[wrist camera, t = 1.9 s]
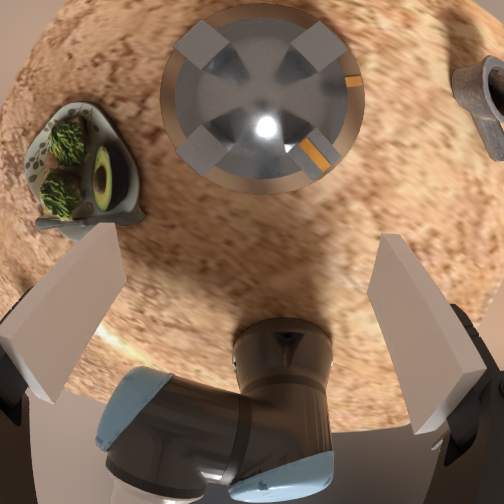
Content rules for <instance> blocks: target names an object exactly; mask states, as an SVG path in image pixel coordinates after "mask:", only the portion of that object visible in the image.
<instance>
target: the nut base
mask: <svg viewBox="0 0 504 504" xmlns="http://www.w3.org/2000/svg"><path fill="white" fill-rule="evenodd" d="M256 17H266V18H275V19H280V20H285V21H288V22H291V23H294V24H297V25H299V26H301V27H303V28H305V29H307V30H308V29H309V28H310V27H312V26H313V25H314V24H316V23H317V22H318V21H320V20H318V19H317V18H315V17H313V16H311V15H309V14H307V13H305V12H303V11H300V10H297V9H294V8H291V7H287V6H282V5H277V4H265V3H261V4H247V5H241V6H236V7H232V8H229V9H226V10H223V11H221V12H218V13H216V14H214V15H212V16H210V17H208V18H207V19H205V20H204V21H205V22H206V23H207V24H209V25H210V26H211V27H212V28H214V29H217V28H219V27H221V26H223V25H225V24H227V23H230V22H233V21H237V20H241V19H246V18H256ZM322 23H323V22H322ZM323 24H324V23H323ZM324 25H325V26H326V27H327V28H328V29H329V30H330V31H331V32H332V33H333V34H334V35H335V36H336V37H337V38H338V39H339V40H340V41H341V42H342V43H343V44H344V46H345V47H346V48H347V49H348V50H347V51H346V52H344V53H343V54H342V55H340V56H339V57H338V58H336V59H337V60H338V62H339V64H340V66H341V69H342V71H343V74H344V77H345V80H346V85H347V91H348V106H347V114H346V117H345V121H344V125H343V127H342V129H341V131H340V134H339V135H338V137H337V139H336V140H335V142H334V144H333V145H332V146H333V147H334V148H335V149H336V150H337V151H338V153H339V154H340V155H341V156H342V158H340V159H339V160H338V161H337V162H336V163H334V164H333V165H332V166H331V167H330V168H328V169H327V170H326V171H325V172H323V173H322V174H321V175H320V176H319V177H317V178H316V179H315V180H314V181H312V180H311V179H310V178H309V177H308V176H307V175H306V174H305V172H304V171H303V170H301V171H299V172H296V173H294V174H291V175H287V176H284V177H279V178H273V179H252V178H245V177H240V176H236V175H233V174H230V173H227V172H225V171H223V170H221V169H219V168H217V167H215V166H214V167H213V168H212V169H211V170H210V171H209V172H208V173H207V174H206V175H205V176H204V177H205V178H206V179H208V180H209V181H211V182H213V183H215V184H217V185H219V186H221V187H224V188H227V189H230V190H233V191H237V192H241V193H246V194H255V195H273V194H280V193H286V192H290V191H294V190H298V189H300V188H303V187H305V186H308V185H310V184H312V183H313V182H315V181H317V180H319V179H321V178H322V177H323V176H325V175H326V174H328V173H329V172H330V171H332V170H333V169H334V168H335V167H336V166H337V165H338V164H339V163H340V162H341V161H342V159H343V158H344V157H345V156H346V155H347V153H348V152H349V150H350V149H351V147H352V145H353V144H354V142H355V140H356V138H357V135H358V133H359V131H360V127H361V124H362V120H363V115H364V108H365V92H364V85H363V80H362V76H361V73H360V70H359V67H358V65H357V63H356V60H355V58H354V56H353V55H352V53H351V51H350V50H349V48H348V47H347V45H346V44H345V43H344V42H343V40H342V39H341V38H340V37H339V36H338V35H337V34H336V33H335V32H334V31H333V30H332V29H331V28H329V27H328V26H327V25H326V24H324ZM185 59H186V57H185V56H184V55H183V54H181V53H180V52H179V51H178V50H177V49H175V50H174V51H173V53H172V55H171V57H170V59H169V61H168V63H167V65H166V68H165V71H164V74H163V78H162V83H161V90H160V106H161V114H162V119H163V123H164V126H165V129H166V132H167V134H168V137H169V139H170V140H171V142H172V144H173V146H174V148H175V149H176V150H177V149H178V148H179V147H180V146H181V145H182V144H183V142H184V141H185V140H186V137H185V135H184V133H183V131H182V129H181V127H180V124H179V121H178V118H177V114H176V109H175V87H176V82H177V77H178V74H179V71H180V69H181V66H182V64H183V62H184V60H185Z"/></svg>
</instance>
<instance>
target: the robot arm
mask: <svg viewBox="0 0 504 504" xmlns="http://www.w3.org/2000/svg"><path fill="white" fill-rule="evenodd" d="M126 282H127V279H126V274H125V270H124V266H123V261H122V257H121V252H120V247H119V242H118V237H117V232H116V226H115V223H98V224H97V225H96V226H95V227H94V228H93V229H92V230H91V231H89V232H88V233H87V234H86V235H85V236H84V237H83V238H82V239H81V240H80V241H79V242H78V243H76V244H75V245H74V246H73V247H72V248H71V249H70V250H69V251H68V252H67V253H66V254H65V255H64V256H63V257H62V258H61V259H60V260H59V261H58V262H57V263H56V264H55V265H54V266H53V267H52V268H51V269H50V270H49V271H48V272H47V273H46V274H45V275H44V276H43V277H42V278H41V279H40V280H39V282H38V283H37V284H36V285H34V286H33V287H31V288H30V289H28V290H27V291H26V292H25V293H24V294H23V295H22V297H21V298H20V299H19V302H16V303H15V304H14V306H13V307H12V310H11V309H10V310H9V311H8V313H7V314H6V315H5V316H4V317H3V318H2V320H1V321H0V504H38V502H37V497H36V491H35V484H34V477H33V470H32V459H31V447H30V428H29V426H30V425H29V398H28V396H27V395H26V394H25V391H26V389H27V387H28V386H29V387H30V389H31V390H32V391H33V392H34V394H35V395H36V396H37V397H38V398H40V399H42V400H45V401H47V402H50V403H52V404H55V402H56V400H57V398H58V396H59V395H60V393H61V391H62V389H63V387H64V385H65V383H66V381H67V379H68V378H69V376H70V374H71V372H72V370H73V369H74V367H75V365H76V363H77V361H78V360H79V358H80V356H81V354H82V353H83V351H84V349H85V347H86V346H87V344H88V342H89V341H90V339H91V337H92V336H93V334H94V332H95V331H96V329H97V327H98V326H99V324H100V322H101V321H102V319H103V318H104V316H105V314H106V313H107V311H108V310H109V308H110V306H111V305H112V303H113V302H114V300H115V299H116V297H117V295H118V294H119V292H120V291H121V289H122V288H123V286H124V285H125V283H126ZM367 295H368V297H369V300H370V302H371V305H372V307H373V310H374V312H375V315H376V318H377V320H378V323H379V325H380V328H381V331H382V334H383V336H384V339H385V342H386V345H387V348H388V350H389V353H390V356H391V359H392V362H393V365H394V368H395V371H396V374H397V377H398V380H399V383H400V387H401V390H402V393H403V396H404V400H405V403H406V407H407V410H408V413H409V417H410V421H411V424H412V428H413V432H414V435H416V434H420V433H425V432H430V431H434V430H437V429H438V428H439V427H440V425H441V424H442V423H443V422H444V421H445V420H446V419H447V421H448V425H449V429H448V430H447V431H446V432H445V433H444V434H443V435H442V436H441V437H440V438H439V439H438V440H437V441H436V442H435V443H434V444H433V446H432V448H431V450H435V449H436V448H437V447H438V446H439V445H440V444H441V443H442V445H441V448H440V449H439V450H438V451H439V452H440V453H439V456H438V460H437V464H436V467H435V471H434V474H433V477H432V480H431V484H430V486H429V490H428V492H427V495H426V498H425V501H424V503H423V504H504V371H500V370H499V368H498V366H497V364H496V363H495V361H494V359H493V357H492V356H491V354H490V352H489V350H488V349H487V347H486V345H485V343H484V342H483V340H482V338H481V337H479V333H478V332H477V330H476V329H475V327H473V324H472V322H471V321H470V319H469V318H468V316H467V315H466V313H465V312H463V311H462V310H461V309H460V308H459V307H458V306H457V305H455V304H449V303H448V301H447V300H446V298H445V297H444V295H443V294H442V292H441V291H440V289H439V288H438V286H437V285H436V283H435V282H434V281H433V279H432V278H431V276H430V275H429V273H428V272H427V271H426V269H425V268H424V267H423V265H422V264H421V262H420V261H419V260H418V258H417V257H416V256H415V254H414V253H413V252H412V250H411V249H410V248H409V246H408V245H407V244H406V242H405V241H404V240H403V239H402V237H401V236H400V235H398V234H383V233H382V234H381V239H380V243H379V248H378V252H377V256H376V260H375V264H374V268H373V272H372V276H371V280H370V284H369V287H368V291H367ZM232 363H233V368H234V371H235V373H236V378H237V382H238V385H239V389H240V392H241V393H240V394H237V393H234V392H230V391H226V390H223V389H219V388H215V387H212V386H208V385H205V384H201V383H198V382H195V381H191V380H188V379H185V378H182V377H179V376H176V375H175V374H173V373H165V372H162V371H158V370H155V369H152V368H148V367H144V366H139V367H135V368H133V369H131V370H130V371H129V372H128V373H127V374H126V375H125V376H124V377H123V378H122V380H121V381H120V383H119V384H118V386H117V387H116V389H115V391H114V393H113V394H112V396H111V398H110V400H109V402H108V404H107V406H106V409H105V411H104V413H103V415H102V418H101V421H100V423H99V426H98V429H97V437H96V445H97V446H98V447H99V448H100V449H101V450H102V451H104V452H106V451H107V452H108V455H107V460H106V464H105V467H106V470H107V472H109V474H110V476H111V477H112V478H113V480H114V481H115V484H114V489H113V494H112V499H111V504H188V503H190V502H193V501H196V500H198V499H200V498H202V497H203V495H204V492H205V489H206V485H207V483H208V482H211V483H218V484H224V485H228V486H229V488H228V491H229V492H230V496H231V497H232V498H233V499H235V500H240V501H243V502H275V501H285V500H291V499H296V498H301V497H305V496H308V495H311V494H314V493H317V492H319V491H321V490H323V489H324V488H326V487H327V486H328V485H329V484H330V482H331V480H332V478H333V457H334V452H333V449H332V440H331V430H330V421H329V413H328V404H327V397H326V387H327V383H328V378H329V374H330V369H331V366H332V363H333V352H332V346H331V342H330V339H329V337H328V336H327V334H326V333H325V332H324V331H323V330H322V329H321V328H319V327H318V326H316V325H314V324H312V323H310V322H307V321H304V320H300V319H294V318H276V319H270V320H265V321H262V322H259V323H257V324H254V325H252V326H250V327H249V328H247V329H246V330H245V331H243V332H242V333H241V334H240V336H239V337H238V338H237V340H236V342H235V345H234V349H233V357H232Z"/></svg>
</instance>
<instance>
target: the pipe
mask: <svg viewBox="0 0 504 504" xmlns="http://www.w3.org/2000/svg"><path fill="white" fill-rule="evenodd" d="M452 89H453V93H454V96H455V98H456V100H457V102H458V104H459V105H460V106H461V107H462V108H464V109H465V110H467V111H469V112H470V113H471V114H472V116H473V119H474V121H475V124H476V126H477V129H478V131H479V133H480V136H481V138H482V140H483V142H484V145H485V147H486V150H487V152H488V154H489V156H490V158H491V159H493V160H494V161H497V162H500V161H504V132H503V129H502V127H501V125H500V122H501V123H503V124H504V62H503V61H501V60H500V59H499V58H497V57H494V56H491V55H488V56H486V57H485V58H484V59H483V60H482V61H481V62H480V63H478V64H476V65H473V66H470V67H467V68H460V69H456V70H455V71H454V73H453V75H452Z"/></svg>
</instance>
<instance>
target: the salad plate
mask: <svg viewBox="0 0 504 504" xmlns="http://www.w3.org/2000/svg"><path fill="white" fill-rule="evenodd" d="M50 146H51V147H50ZM49 149H50V152H51V153H54V154H55V157H56V158H55V159H56V162H57V163H58V164H59V166H58V169H50V168H49V169H48V171H47V173H46V174H45V163H46V157H47V153H48V151H49ZM25 176H26V180H27V183H28V185H29V187H30V189H31V191H32V192H33V194H34V195H35V197H36V198H37V200H38V201H39V203H40V204H41V206H42V207H43V209H44V210H43V213H44V215H43V216H41V217H38V218H37V219H36V221H35V224H36V226H37V228H38V229H50V228H57V229H58V231H59V232H60V233H61V234H63V235H64V236H65V237H66V238H68V239H70V240H73V241H76V242H79V241H80V240H81V239H82V238H83V237H84V236H85V235H86V234H87V233H88V232H89V231H91V230H92V229H93V228H94V227H95V226H96V225H97V224H98V223H115V225H119V226H126V225H132V224H137V223H140V222H141V221H142V219H143V218H144V217H145V214H144V213H143V212H142V211H141V210H140V206H139V199H140V190H141V179H140V174H139V169H138V166H137V163H136V161H135V159H134V157H133V155H132V153H131V150H130V148H129V146H128V145H127V143H126V142H125V140H124V138H123V137H122V135H121V133H120V132H119V130H118V128H117V127H116V125H115V124H114V122H113V121H112V119H111V118H110V117H109V115H108V114H107V113H106V112H105V111H104V110H103V109H102V108H101V106H100V105H98V104H96V103H93V102H87V101H77V102H72V103H68V104H66V105H65V106H63V107H62V108H61V109H59V110H58V111H57V113H56V114H55V115H54V116H53V117H52V118H51V120H50V121H49V122H48V123H47V125H46V126H45V127H44V128H43V129H42V131H41V132H40V133H39V134H38V135H37V136H36V138H35V139H34V141H33V142H32V144H31V146H30V147H29V148H28V150H27V153H26V157H25ZM88 203H91V204H92V207H91V208H90V207H89V206H88Z"/></svg>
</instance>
